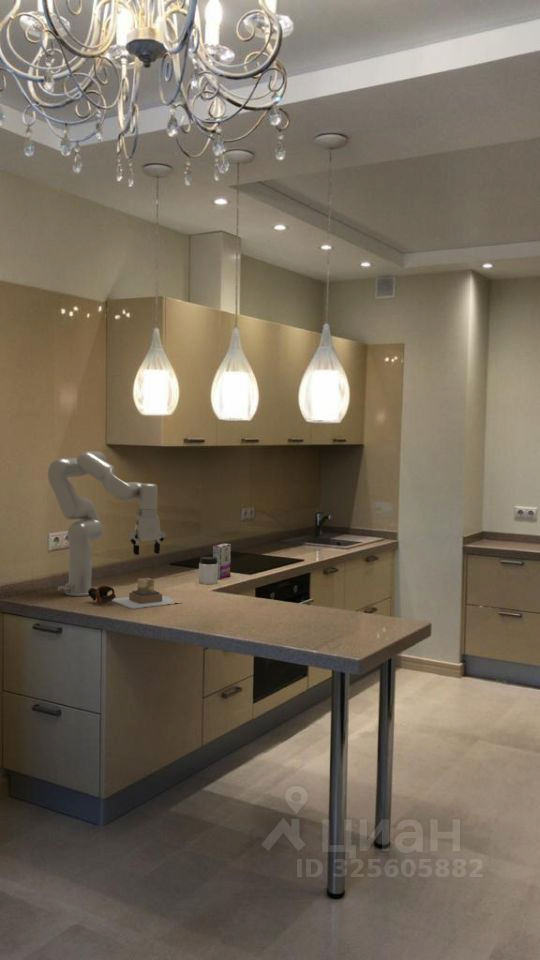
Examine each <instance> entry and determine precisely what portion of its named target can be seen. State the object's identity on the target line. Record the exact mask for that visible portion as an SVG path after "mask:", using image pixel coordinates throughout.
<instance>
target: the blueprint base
mask: <svg viewBox="0 0 540 960" xmlns="http://www.w3.org/2000/svg"><path fill="white" fill-rule="evenodd" d="M137 590H138V589H137ZM137 590H132V591H131V592H130V591H129V596H126V597H116V598H114V599H113V600H111V601H110V602H111V603H114V604H116V605H117V604H118V605H119V606H122V607H125V608H128V609H130V610H137V608H138V609H144V608H143V607H147V608H152V607H151V606H156V607H158V606H157V605H163V604H169V603H170V602H172V601H173V599H174V600H176V599H175V598H172V597H169V596H166V595H163V594H162V593H160V592H159V591H157V590H154V593H145V594H142V593H139V592H137ZM173 603H174V602H173Z"/></svg>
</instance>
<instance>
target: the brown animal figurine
mask: <svg viewBox="0 0 540 960" xmlns="http://www.w3.org/2000/svg"><path fill="white" fill-rule="evenodd" d="M109 592H111V593H110V594H109ZM88 594H89V595H88V596H89V597H90V599H92V601H93V602H94V601H96V603H97V605H98V606H102V604H105V603H109V602H111V600H113V599H114V598H117V596H116V594H115V589H114V588H113V587H111V586H108V585H100V586H98V587H97V588H95V587H91V588H90V589H89V591H88ZM108 594H109V595H108Z"/></svg>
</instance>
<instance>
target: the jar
mask: <svg viewBox="0 0 540 960" xmlns="http://www.w3.org/2000/svg"><path fill="white" fill-rule="evenodd" d="M217 577H218V563H217V558H216V557H213V556H201V557H200V558H199V563H198V583H199V584H203V585H215V584H217V583H218V579H217Z"/></svg>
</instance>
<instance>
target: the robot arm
mask: <svg viewBox="0 0 540 960" xmlns="http://www.w3.org/2000/svg"><path fill="white" fill-rule="evenodd" d="M115 471H116V469H115V467H114V465H112V464H110V463H109V462H108V461H107V457H106V455H105V453H103V452H101V451H99V450H98V451H97V450H94V451H93V450H92V451H89V450H87V451H82V452H81V453H80V454H78V456H77V457H59V458H57V459H54V460H53V461H52V462H51V463H50V464H49V467H48V469H47V478H48V482H49V485H50V487H51V489H52V491H53V493H54V495H55V497H56V501H57V503H58V505H59V508H60V511H61V513H62V516H63V517H64V518H65V519H66V520H68V521H75V520H78V521H75V522H72V523H71V524H70V526H69V527H68V529H67V541H68V546H69V547H68V549H69V550H68V552H69V553H68V555H69V556H68V558H69V561H68V562H69V563H68V582H66V584H65V585H59V586H57V590H58V591H60V592H62V591H64V594H65V595H66V596H70V597H87V596H89V594H88V591H89V589H90V588H92V571H93V569H92V567H93V557H92V555H93V553H92V551H93V550H92V547H91V544H90V542H97V541H98V540H100V539H101V537H102V536H103V534H104V527H103V524H102V521H101V519H100V516H99V513H98V511H97V509H96V507H95V504H94V502H93V501H91V500H90V499H89V498H87V497H82V496H81V497H79V496H78V495H77V492H76V490H75V487H74V486H73V484H72V483H71V481H69V480H68V478H75V477H82V476H86V475H90V476H91V477H93V478H94V479H96V480H97V481H99V482H100V483H101V485H102V486H103V488H104V489H105V490H106V491H107V492H108V493H109V494H111V496H113V497H115V498H117V499H118V500H120V501H125V502H126V501H136V500H138V510H136V511H135V513H136V515H137V517H136V520H135V526H134V530H133V531H132V532H131V533H129V534H127V536H128V539H129V541H130V543H131V544H132V545H133V554H134V555H135V556H140V545H139V544H140V543H141V542H147V541H154V542H155V543H154V545H153V552H154V554H160V551H161V544H162V542H163V541H164V540H165V537H166V535H167V534H166V532H164V531H163V530H161V522H160V517H159V515H158V494H159V493H158V487H159V486H158V485H157V484H156V483H147V482H146V483H144V482H140V481H139V482H138V481H128V482H125V481H123V480H122V479H120V478H118V477H117V476H116V475H115Z"/></svg>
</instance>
